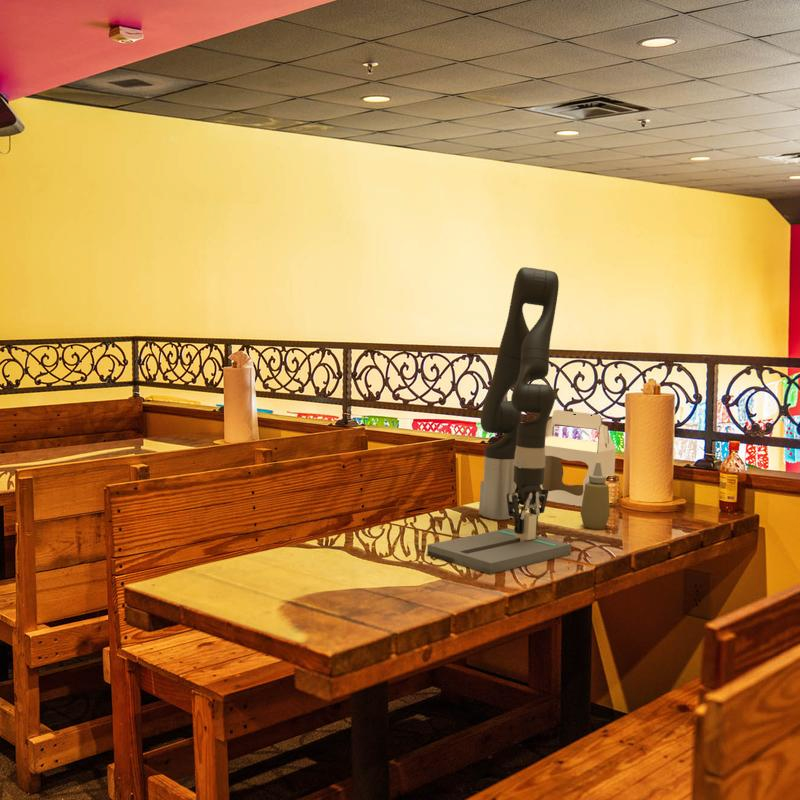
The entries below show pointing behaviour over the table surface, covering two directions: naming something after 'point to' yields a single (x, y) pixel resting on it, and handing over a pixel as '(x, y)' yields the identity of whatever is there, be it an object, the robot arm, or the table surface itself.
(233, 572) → the table surface
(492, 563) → the panel
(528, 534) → the fader tab
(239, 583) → the table surface
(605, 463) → the gable box
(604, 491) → the squeeze bottle
